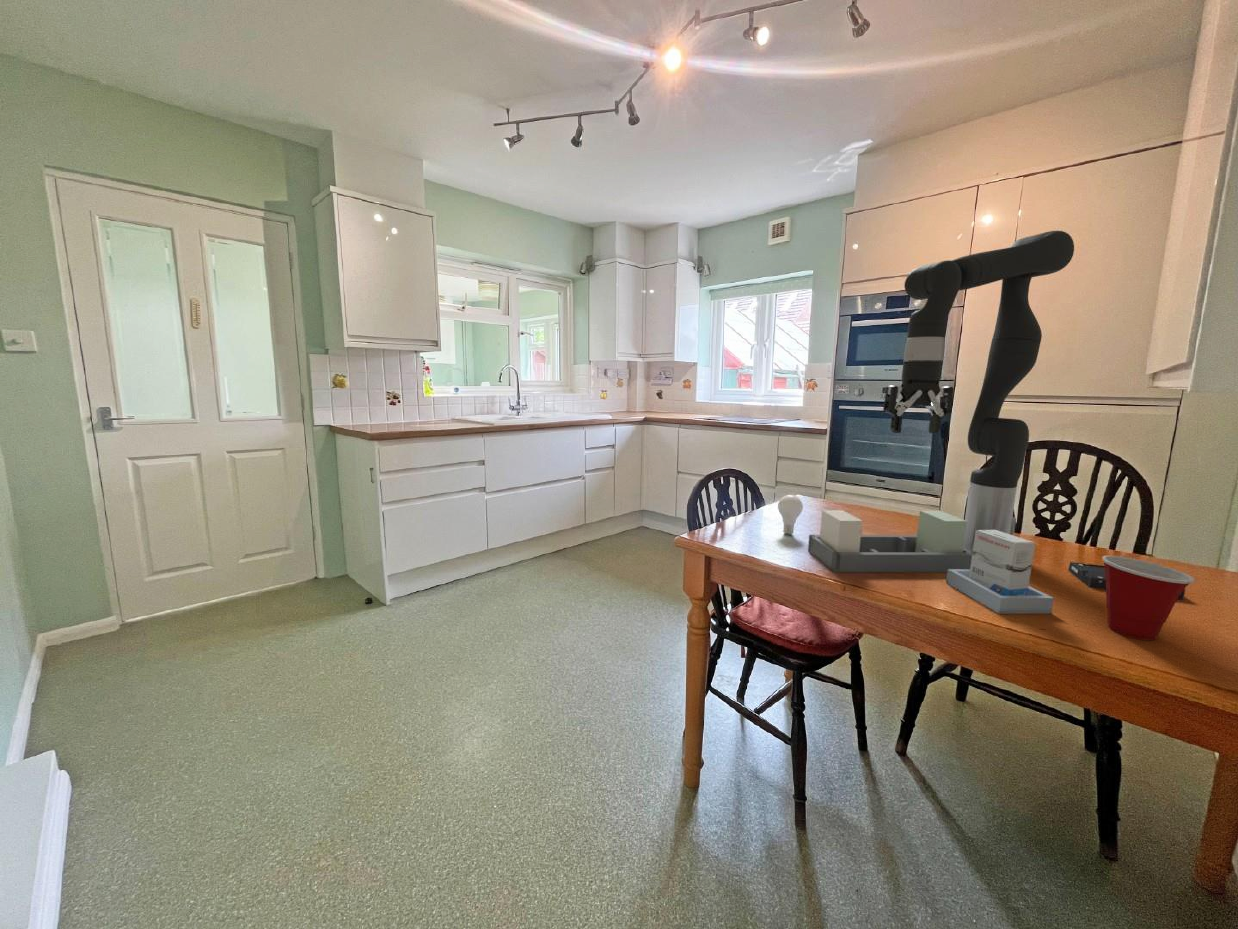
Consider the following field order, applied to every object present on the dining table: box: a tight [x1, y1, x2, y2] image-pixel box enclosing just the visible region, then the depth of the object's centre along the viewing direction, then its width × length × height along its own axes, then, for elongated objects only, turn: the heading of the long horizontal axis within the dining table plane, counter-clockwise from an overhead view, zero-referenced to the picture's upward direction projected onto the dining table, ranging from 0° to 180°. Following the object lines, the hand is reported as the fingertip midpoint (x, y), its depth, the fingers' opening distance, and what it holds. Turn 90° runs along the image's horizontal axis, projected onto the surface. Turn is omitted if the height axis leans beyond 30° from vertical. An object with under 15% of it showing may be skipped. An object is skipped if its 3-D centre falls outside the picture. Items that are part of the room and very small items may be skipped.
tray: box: [945, 569, 1055, 615], centre depth 98 cm, size 10×14×3 cm
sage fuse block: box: [915, 510, 967, 552], centre depth 117 cm, size 5×9×11 cm, turn 3°
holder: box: [807, 534, 973, 573], centre depth 117 cm, size 32×14×4 cm, turn 93°
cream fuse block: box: [819, 509, 863, 552], centre depth 116 cm, size 5×9×11 cm, turn 3°
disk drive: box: [1068, 561, 1186, 601], centre depth 106 cm, size 10×3×15 cm
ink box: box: [969, 530, 1036, 596], centre depth 97 cm, size 8×5×12 cm, turn 12°
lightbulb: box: [777, 494, 804, 535], centre depth 136 cm, size 6×6×11 cm
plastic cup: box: [1101, 555, 1195, 641], centre depth 84 cm, size 11×11×12 cm
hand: (914, 432), depth 113 cm, fingers open, 8 cm apart
